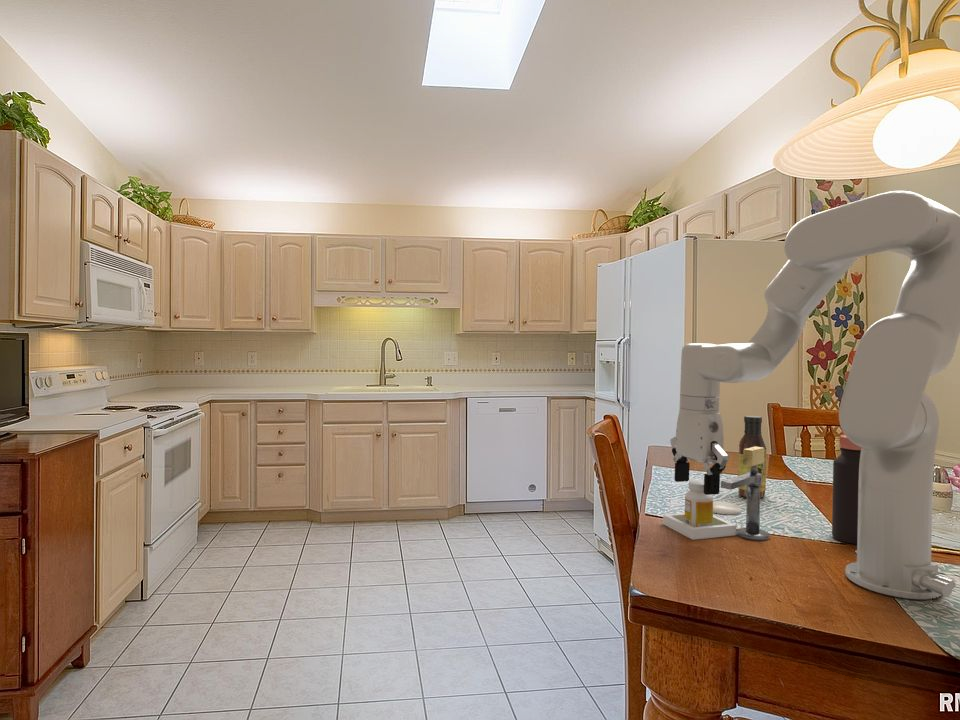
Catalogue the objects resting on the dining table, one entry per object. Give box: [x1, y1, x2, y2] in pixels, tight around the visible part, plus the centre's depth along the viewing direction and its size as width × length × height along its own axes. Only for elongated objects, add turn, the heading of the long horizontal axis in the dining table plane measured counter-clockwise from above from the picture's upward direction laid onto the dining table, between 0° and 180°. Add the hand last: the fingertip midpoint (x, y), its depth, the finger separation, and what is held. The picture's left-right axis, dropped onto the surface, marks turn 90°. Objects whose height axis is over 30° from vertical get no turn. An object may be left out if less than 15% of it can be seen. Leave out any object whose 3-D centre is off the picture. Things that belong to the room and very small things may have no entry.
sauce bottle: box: [737, 415, 767, 499], centre depth 144 cm, size 7×6×20 cm
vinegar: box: [831, 434, 862, 546], centre depth 112 cm, size 7×7×20 cm
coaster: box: [713, 500, 742, 515], centre depth 133 cm, size 8×8×1 cm
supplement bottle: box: [684, 479, 714, 527], centre depth 118 cm, size 5×5×10 cm
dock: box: [662, 512, 737, 541], centre depth 118 cm, size 10×10×2 cm
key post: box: [735, 484, 771, 542], centre depth 115 cm, size 6×6×10 cm
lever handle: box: [720, 446, 764, 491], centre depth 112 cm, size 3×14×7 cm, turn 130°
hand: (695, 487), depth 119 cm, fingers open, 9 cm apart
